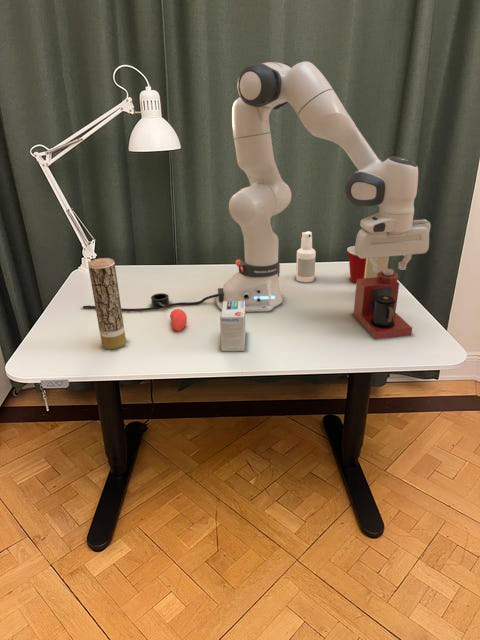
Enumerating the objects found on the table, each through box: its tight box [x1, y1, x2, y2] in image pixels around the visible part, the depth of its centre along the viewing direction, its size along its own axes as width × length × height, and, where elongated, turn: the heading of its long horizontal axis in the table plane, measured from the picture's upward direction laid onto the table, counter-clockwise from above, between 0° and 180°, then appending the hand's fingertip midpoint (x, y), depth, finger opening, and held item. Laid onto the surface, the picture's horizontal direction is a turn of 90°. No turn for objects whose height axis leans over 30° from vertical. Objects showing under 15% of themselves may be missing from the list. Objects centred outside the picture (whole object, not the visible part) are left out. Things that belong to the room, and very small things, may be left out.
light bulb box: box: [219, 301, 246, 352], centre depth 136 cm, size 11×7×11 cm, turn 178°
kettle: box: [373, 296, 395, 327], centre depth 140 cm, size 6×9×8 cm, turn 10°
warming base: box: [360, 288, 413, 340], centre depth 142 cm, size 11×10×11 cm
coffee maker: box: [353, 271, 400, 324], centre depth 148 cm, size 12×6×14 cm, turn 100°
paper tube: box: [87, 257, 127, 350], centre depth 134 cm, size 7×7×25 cm
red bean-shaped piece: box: [169, 308, 188, 331], centre depth 148 cm, size 5×9×6 cm
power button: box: [383, 268, 395, 277], centre depth 145 cm, size 3×3×2 cm
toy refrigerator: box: [364, 256, 390, 278], centre depth 160 cm, size 8×7×21 cm
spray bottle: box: [295, 230, 317, 283], centre depth 177 cm, size 7×7×18 cm
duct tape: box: [150, 292, 170, 308], centre depth 162 cm, size 8×10×3 cm
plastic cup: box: [346, 245, 366, 284], centre depth 176 cm, size 11×11×12 cm
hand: (389, 270), depth 135 cm, fingers open, 6 cm apart
